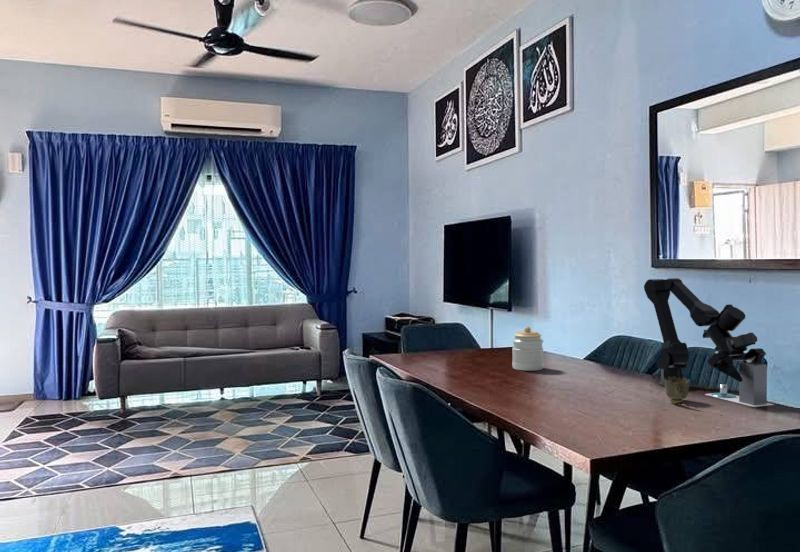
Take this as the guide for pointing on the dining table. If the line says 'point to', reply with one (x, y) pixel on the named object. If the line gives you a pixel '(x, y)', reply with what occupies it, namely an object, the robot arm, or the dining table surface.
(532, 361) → the jar
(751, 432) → the dining table surface
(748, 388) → the tall grey box
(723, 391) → the teal base with post
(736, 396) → the mounting plate
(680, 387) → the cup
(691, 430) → the dining table surface
